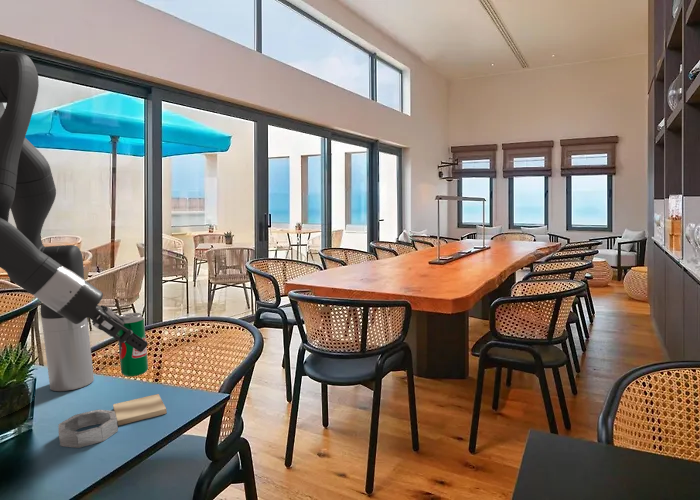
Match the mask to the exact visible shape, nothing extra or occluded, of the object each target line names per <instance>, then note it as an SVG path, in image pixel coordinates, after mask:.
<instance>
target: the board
mask: <svg viewBox="0 0 700 500" xmlns="http://www.w3.org/2000/svg"><path fill="white" fill-rule="evenodd" d="M112 406H113V411H115V414H116V418H117V426H122V425H127V424H130V423H134V422H139V421H142V420H146V419H150V418H154V417H158V416H162V415H165V414H167V413H168V412H167V411H168V410H167V408H166V405H165V404H164V401H163V399H162V398H161V396H160V394H159V393H157V394H152V395H147V396H144V397H143V396H142V397H139V398H138V397H137V398H134V399H130V400H127V401H121V402H116V403H114V404H112Z"/></svg>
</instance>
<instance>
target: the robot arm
mask: <svg viewBox="0 0 700 500" xmlns="http://www.w3.org/2000/svg"><path fill="white" fill-rule="evenodd" d="M39 82H40V81H39V74H38V70H37V67H36V66H35V64H34V62H33V60H32V59H31V58H30V56H29V55H27V54H25V53H22V52H17V51H0V269H2V270H3V271H5V273H7V277H8V278H9V279H10V280H11V281H12V282H13V283H14V284H15V285H17V286H19V287H20V288H22V289H23V290H25V291H26V292H28V293H29V294H31V295H32V296H34V297H35V298H36V299H38V300H39V301H40V302H41V303H42V304H41V305H40V308H39V309H40V317H41V325H42V326H41V327H42V333H43V341H44V349H45V358H46V367H47V373H48V382H49V388H50V390H51V391H55V392H65V391H72V390H73V391H74V390H77V389H80V388H84V387H86V386H88V385H90V384H92V383H93V382H94V380H95V378H94V377H95V375H94V369H93V366H94V365H93V359H92V358H93V357H92V347H91V341H90V331H89V323H88V318H89V319H90V320H91V323H92V324H91V325H92V326H93V327H95V328H96V329H98V330H99V331H102V332H104V333H105V334H107V335H109V336H110V337H112V338H114V339H115V340H117V341H118V340H119V342H122V343H125V342H126V343H127V344H129V345H130V346H132V347H133V348H135V349H136V350H138V351H139V352H142V351H143V350H144V349H145V348H146V347H148V346H149V345H148V342H147V340H146V341H145V340H143V339H142V338H140V337H139V336H137V335H136V334H134V333H133V332H132V330H130V329H128V328H127V327H125V323H124V322H123V321H122V320H121V319H119V318H118V317H119V316H120V315H118V314H117V313H115V312H114V311H113V310H112V309H111V308H110V307H108V306H106V305H99V304H100V302H101V300H102V299H103V297H104V293H103V291H101V290H100V289H99V288H97V287H95V286H94V285H92V284H91V283H90V282H88V281H87V280H86V279H85V273H84V272H85V271H84V260H83V259H84V258H83V254H82V251H81V249H80V248H79V247H78V246H77V245H74V244H69V245H53V246H52V245H51V246H44V244H43V241H42V230H43V227H44V223H45V221H46V219H47V217H48V215H49V213H50V212H51V210H52V207H53V205H54V202H55V200H56V196H57V189H56V185H55V181H54V178H53V177H54V176H53V172H52V170H51V166H50V163H49V161H47V159H46V158H45V156H44V154H42V153H41V152H40V151H39V150H38V148H37V147H36V146H34V144H32V143H31V142H30V141H29V140H28V139H27V138H26V137H27V136H26V135H27V132H28V129H29V126H30V123H31V119H32V116H33V114H34V113H33V112H34V108H35V106H36V103H37V99H38V93H39V87H40V86H39ZM4 104H6V105H4ZM10 212H11V214H12V216H13V217H12V218H13V220H14V224H15V225H13V224H12V223H11V222H9V219H10ZM118 323H119V324H118ZM120 330H123V331H125V332H124V333H123V334H122V335H121V336H120V335H118V332H119V331H120Z"/></svg>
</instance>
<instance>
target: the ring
mask: <svg viewBox="0 0 700 500" xmlns="http://www.w3.org/2000/svg"><path fill="white" fill-rule="evenodd" d="M96 425H99V426H98V427H97V426H96ZM91 426H96V427H93V428H89V429H84V430H82V431H80V430H79V429H83V428H87V427H91ZM57 427H58V439H59V447H65V448H66V447H67V448H76V449H79V448H85V447H87V446H91V445H95V444H98V443H103V442H104V441H106V440H108V438H110V437H112V436H113V435H115V434H116V433H117V432H119V428H118V423H117V418H116V414H115V411H114V410H109V409H94V410H90V411H85V412H82V413H77V414H75V415H73V416H70V417H69V418H67V419H65V420H64V421H62V422H60V423H59V424H58V426H57ZM78 430H79V431H78Z"/></svg>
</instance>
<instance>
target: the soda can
mask: <svg viewBox="0 0 700 500" xmlns="http://www.w3.org/2000/svg"><path fill="white" fill-rule="evenodd" d="M142 315H143V314H142V313H141V312H130V313H124V314H121V315H119V317H118V318H119V319H121V320H122V321H123V322H124V323H125V327H127V328H128V329H130V330H132V332H133V333H134V334H136V335H137V336H139V337H140V338H142V339H143V340H145V341H146V342H147V339H146V338H147V337H146V336H147V335H146V328H145V327H146V325H145V318H144V317H143V316H142ZM118 324H119V323H118ZM124 332H125V331H123V330H120V331H119V332H118V335H120V336H121V335H122V334H123V333H124ZM117 341H118V351H119V352H118V353H119V363H120V365H119V366H120V373H121V375H123V377H128V378H130V377H131V378H134V377H138V376H141V375H143V374H146V373H147V372H148V370H149V363H148V361H149V359H148V349H147V347H148V346H147V347H146V348H145V349H144V350H143V351H142V352H139V351H138V350H136V349H135V348H133V347H132V346H130V345H129V344H127V343H126V342H125V343H122V342H119V340H117Z"/></svg>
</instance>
